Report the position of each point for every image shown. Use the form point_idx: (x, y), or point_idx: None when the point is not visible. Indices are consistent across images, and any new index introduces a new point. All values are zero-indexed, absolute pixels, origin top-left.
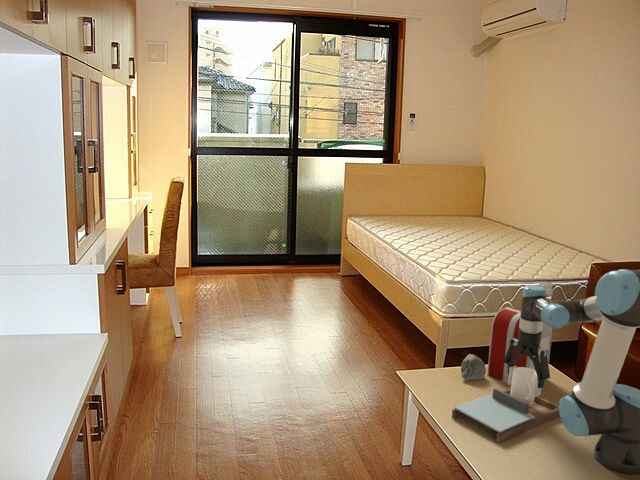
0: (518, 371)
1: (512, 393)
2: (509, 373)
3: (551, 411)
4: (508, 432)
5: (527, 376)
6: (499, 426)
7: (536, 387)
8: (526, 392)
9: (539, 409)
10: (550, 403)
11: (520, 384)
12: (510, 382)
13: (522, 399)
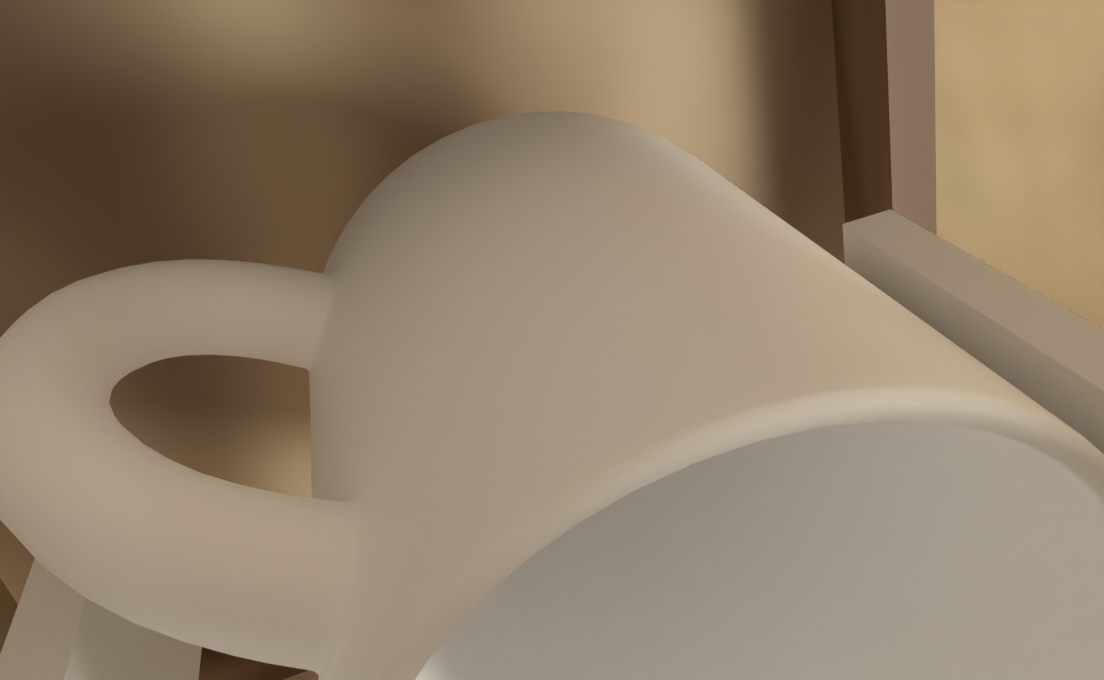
0: (1017, 638)
1: (609, 137)
2: (1099, 340)
3: (23, 565)
4: None
5: None
6: None
7: (2, 657)
8: (332, 369)
9: None
10: (306, 673)
11: (476, 324)
12: (877, 266)
13: (358, 229)
